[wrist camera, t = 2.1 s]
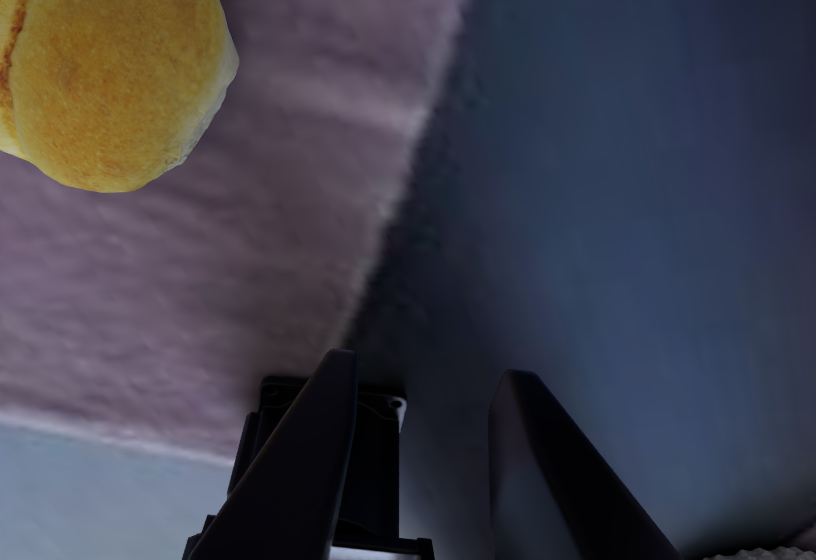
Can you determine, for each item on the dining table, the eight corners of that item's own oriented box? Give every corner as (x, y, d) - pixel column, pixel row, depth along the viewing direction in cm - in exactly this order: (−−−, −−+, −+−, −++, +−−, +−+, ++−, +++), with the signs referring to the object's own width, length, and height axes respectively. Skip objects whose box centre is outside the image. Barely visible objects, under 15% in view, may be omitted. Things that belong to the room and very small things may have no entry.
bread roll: (-78, -267, 13) (-231, -292, 10) (283, -1, 16) (255, 43, 13) (-135, 44, 17) (-256, 97, 14) (163, 205, 20) (120, 276, 17)
